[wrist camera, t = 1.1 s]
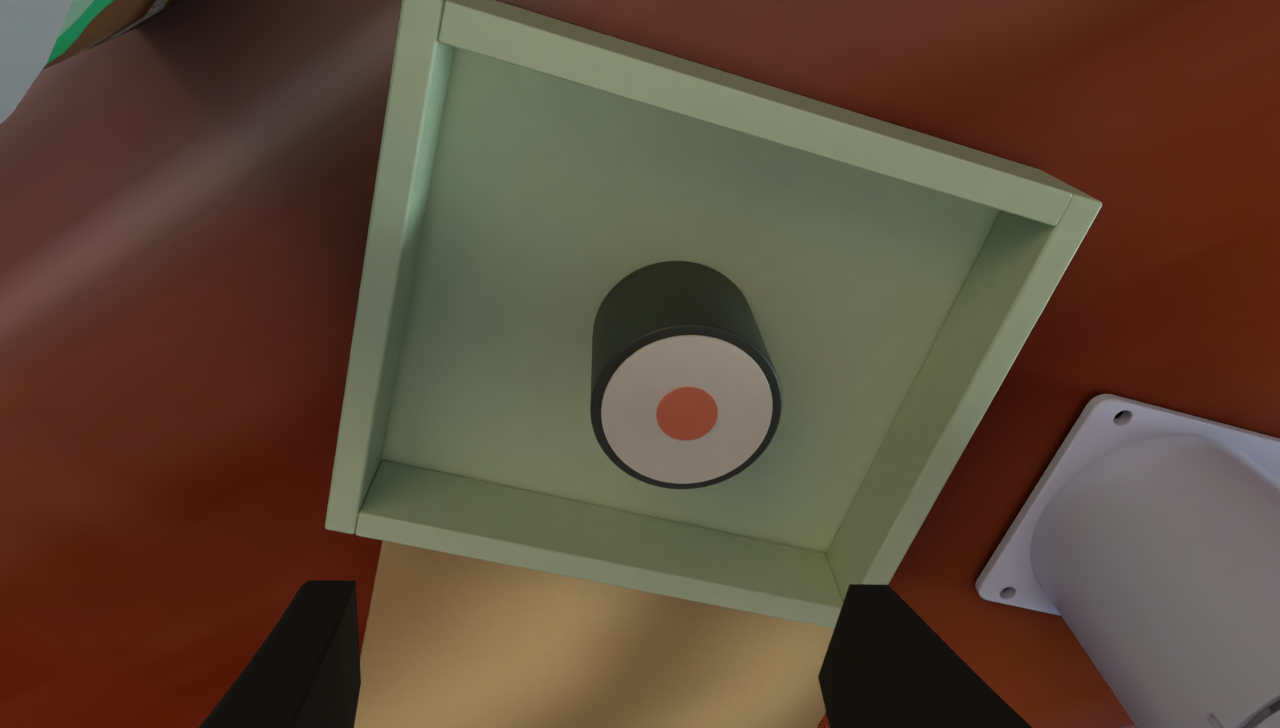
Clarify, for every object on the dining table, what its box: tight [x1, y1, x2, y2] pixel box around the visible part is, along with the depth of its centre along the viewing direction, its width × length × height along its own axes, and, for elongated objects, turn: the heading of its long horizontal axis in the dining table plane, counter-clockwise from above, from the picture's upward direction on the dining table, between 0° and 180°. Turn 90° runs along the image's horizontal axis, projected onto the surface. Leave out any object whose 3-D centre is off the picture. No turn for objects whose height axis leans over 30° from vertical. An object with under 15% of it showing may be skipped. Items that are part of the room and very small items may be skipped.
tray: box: [325, 0, 1102, 628], centre depth 21 cm, size 16×14×3 cm
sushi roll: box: [590, 261, 782, 489], centre depth 20 cm, size 4×4×4 cm
